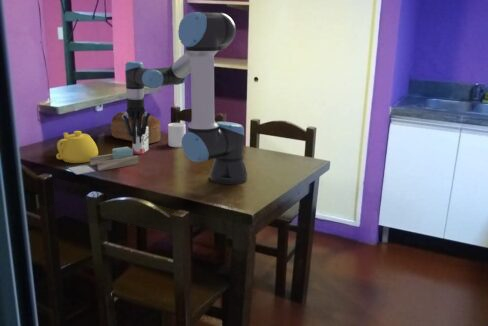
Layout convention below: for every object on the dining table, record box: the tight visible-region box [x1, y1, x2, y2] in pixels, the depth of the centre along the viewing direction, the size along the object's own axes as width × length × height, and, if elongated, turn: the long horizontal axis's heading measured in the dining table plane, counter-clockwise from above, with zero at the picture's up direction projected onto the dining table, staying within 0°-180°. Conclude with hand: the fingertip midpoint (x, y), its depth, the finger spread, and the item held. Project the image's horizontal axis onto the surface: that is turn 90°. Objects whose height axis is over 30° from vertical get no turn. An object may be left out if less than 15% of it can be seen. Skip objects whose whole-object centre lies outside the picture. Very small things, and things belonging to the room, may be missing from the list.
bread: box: [110, 111, 161, 145], centre depth 255 cm, size 12×28×14 cm, turn 59°
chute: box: [89, 153, 140, 172], centre depth 214 cm, size 10×18×4 cm, turn 128°
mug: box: [167, 122, 187, 148], centre depth 249 cm, size 9×12×11 cm
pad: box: [68, 164, 96, 175], centre depth 206 cm, size 10×8×1 cm
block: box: [111, 146, 134, 159], centre depth 216 cm, size 6×7×6 cm
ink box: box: [132, 126, 149, 155], centre depth 234 cm, size 9×5×12 cm, turn 168°
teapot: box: [56, 130, 99, 164], centre depth 220 cm, size 20×19×13 cm
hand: (137, 150), depth 220 cm, fingers closed
